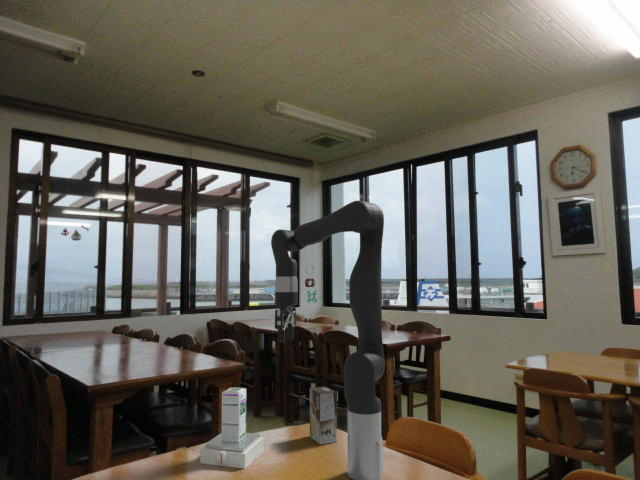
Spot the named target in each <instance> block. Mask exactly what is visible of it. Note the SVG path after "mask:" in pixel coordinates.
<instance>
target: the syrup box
mask: <svg viewBox="0 0 640 480" xmlns="http://www.w3.org/2000/svg"><path fill="white" fill-rule="evenodd" d="M221 433H222V441H225V442H238V443H239V442H240V441H241V440H242V439H243V438H244V437H246V433H247V388H246V387H236V386H235V387H229V388H228V389H226V390H224V391H222V392H221Z"/></svg>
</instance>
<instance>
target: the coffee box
mask: <svg viewBox="0 0 640 480" xmlns="http://www.w3.org/2000/svg"><path fill="white" fill-rule="evenodd" d="M337 395H338V392H337V391H335V390H333V389H331V388H329V387H327V386H316V387H309V437H310V438H311V439H312V440H314V441H315V442H316V443H318V444H319V445H326V444H333V443H336V442H337V441H338V440H337V438H338V437H337V435H338V434H337V432H338V431H337V430H338V429H337V420H338V419H337V418H338V416H337V413H338V412H337V405H338V404H337V402H338V401H337V400H338V399H337Z"/></svg>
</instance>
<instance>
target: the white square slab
mask: <svg viewBox="0 0 640 480" xmlns="http://www.w3.org/2000/svg"><path fill="white" fill-rule="evenodd" d="M264 450H265V437H263V436H260V438H259V439H258V440H256V441H255V442H254V443H253V444H252V445H251V446H249V447H248V448H247V449H246V450H245V451H244V452H242V451H233V450H224V449H215V448H206V447H205V445H204V446H203V447H201V448H200V450H199V451H200V452H199V455H200V457H199V461H200V462H199V464H203V465H210V466H217V467H219V466H220V467H225V468H226V467H229V468H237V469H243V470H244V469H246V468H248V466H249V465H251V463H253V462H254V461H255V460H256V459H257V457H259V456H260V455H261V454H262V453H263V452H264Z"/></svg>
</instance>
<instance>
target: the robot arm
mask: <svg viewBox="0 0 640 480" xmlns="http://www.w3.org/2000/svg"><path fill="white" fill-rule="evenodd" d="M384 226H385V216H384V212H383V209H382V208H381V206H379V205H378V204H376V203H373V202H369V201H365V200H354V201H352V202H349V203H348V204H346V205H344V206H342V207H340V208H339V209H336V210H335V211H333V212H331V213H329V214H328V215H325V216H323V217H320V218H318V219H315V220H312V221H309V222H306V223H304V224H300V225H298V226H297V227H296V228H295V229H294V230H288V229H277V230H275V231H274V232H273V234H272V236H271V240H270V245H271V251H272V254H273V258H274V262H275V281H274V305H275V306H279V308H278V309H275V310H274V329H275V330H276V331H277V343H280V344H281V343H282V344H283V343H285V342H286V339H287V340H290V341H291V340H293V339H294V328H295V326H297V307H293V306H297V305H298V300H299V297H298V294H299V293H298V289H299V287H298V285H299V283H298V261H296V259H294V258H292V257H291V256H290V254H289V252H290V253H291V252H293V253H294V252H298V251H302V250H303V249H305V248H306V247H309V246H311V245H315V244H318V243H322V242H324V241H325V240H327V239H328V238H330V237H331V236H333V235H335V234H338V233H346V232H347V233H348V232H350V233H351V232H352V233H353V232H354V233H358V234H359V252H358V256H357V259H356V262H355V264H354V266H353V267H352V270H351V273H350V276H349V281H348V283H349V285H348V289H349V290H348V291H349V292H348V294H349V295H348V296H349V297H348V298H349V306H350V310H351V314H352V315H353V319H354V321H355V324H356V328H357V337H358V338H357V341H358V342H357V343H358V344H357V351H355V352H352V353H350V354H349V355H348V356H347V357H346V359H345V361H344V364H343V387H344V389H343V390H344V399H345V401H346V405H347V464H346V465H347V476H348V477H349V478H350V479H352V480H382V476H383V472H384V469H383V468H384V463H383V462H384V461H383V460H384V459H383V448H384V447H383V443H384V442H383V436H382V401H381V399H380V398H379V397H377V395H376V382H377V381H379V380H380V379H381V378H382V376H383V375H384V372H385V369H386V368H385V366H386V361H385V353H384V352H385V351H384V344H383V335H382V334H383V333H382V332H383V331H382V329H383V328H382V327H383V326H382V325H383V323H382V322H383V320H382V319H383V317H382V316H383V315H382V311H383V310H382V307H383V306H382V305H383V304H382V302H383V301H382V299H383V296H382V295H383V291H382V290H383V288H382V285H383V284H382V283H383V282H382V248H383V237H384V236H383V235H384ZM285 330H286V331H285Z"/></svg>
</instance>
